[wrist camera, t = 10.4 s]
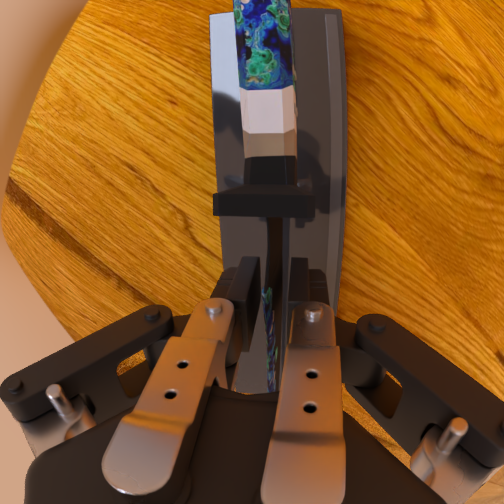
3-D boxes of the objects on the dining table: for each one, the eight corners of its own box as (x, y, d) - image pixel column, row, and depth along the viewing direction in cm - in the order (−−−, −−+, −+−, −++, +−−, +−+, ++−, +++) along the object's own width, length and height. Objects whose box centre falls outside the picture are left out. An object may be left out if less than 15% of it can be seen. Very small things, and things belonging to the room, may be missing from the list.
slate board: (239, 379, 25) (235, 393, 23) (215, 21, 14) (208, 13, 13) (323, 383, 24) (324, 397, 22) (338, 17, 13) (341, 8, 12)
